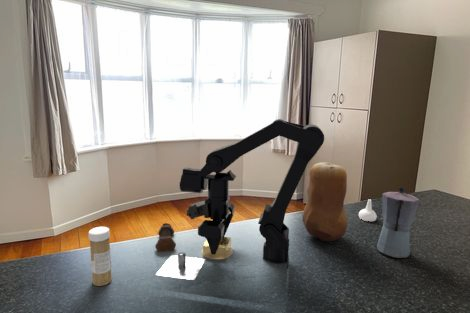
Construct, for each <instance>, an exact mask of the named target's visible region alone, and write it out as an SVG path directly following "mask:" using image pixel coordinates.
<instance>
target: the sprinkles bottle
mask: <svg viewBox="0 0 470 313" xmlns="http://www.w3.org/2000/svg"><path fill="white" fill-rule="evenodd" d="M110 234H111V233H110V228H109V227H107V226H97V227H93V228H91V229H90V230H89V231H88V240H89V246H90V263H91V264H90V266H91V268H90V269H91V275H92V285H93V286H95V287H101V286H106V285H108V284H110V283H111V282H112V280H113V275H112V256H111V247H110V246H111V245H110V244H111V243H110V238H111V235H110Z"/></svg>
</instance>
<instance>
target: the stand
mask: <svg viewBox="0 0 470 313" xmlns="http://www.w3.org/2000/svg"><path fill="white" fill-rule="evenodd" d="M219 245H221V243H220V244H219ZM233 253H234V250H233V248H232V247H231V248H230V250H229V253H228V255H227V257H226V258H220V257H211V256H204V257H205V258H207V259H211V260H224V259H227V258H229V257H231V256H232V255H233ZM201 254H202V255H203V248H202V249H201Z"/></svg>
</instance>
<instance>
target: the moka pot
mask: <svg viewBox="0 0 470 313" xmlns="http://www.w3.org/2000/svg"><path fill="white" fill-rule="evenodd" d="M405 190H406V188H405V187H403V186H399V187H398V191H387V192H383V193H382V194H381V195H382V197H381V198H382V200H381V202H382V205H381V206H382V208H381V210H382V219H383V221H382V222H383V225H382V229H381V231H380V235H379V237H378V238H379V239H378V241H377V245H376V250H377V251H378V252H380V253H382V254H384V255H385V256H388V257H392V258H397V259H403V258H404V259H406V258H408V257H410V253H411V252H410V246H411V245H410V242H411V241H410V240H411V239H410V236H411V235H410V230H411V225H412V224H413V223H414V220H415V217H416V216H415V215H416V213H417V210H418V207H419V204H420V199H419V198H417V197H416V196H414V195H411V194H408V193H406V192H404V191H405Z"/></svg>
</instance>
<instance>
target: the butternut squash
mask: <svg viewBox="0 0 470 313" xmlns="http://www.w3.org/2000/svg"><path fill="white" fill-rule="evenodd" d="M308 173H309V180H308V187H307V190H306V193H307V202H306V203H305V206H304V209H303V214H302V224H303V225H304V229H305V230H306V232H307V234H309V235H310V236H312V237H314V238H317V239H319V240H320V241H321V242H328V243H330V242H333V241H337V240H339V239H341V238H342V237H344V235H345V234H346V232H347V228H348V216H347V213H346V210H345V209H346V208H345V206H344V203H345V198H346V194H347V188H348V184H347V182H348V181H347V180H348V176H347V175H348V174H347V171H346V169H345V168H344V167H343V166H342V165H337V164H334V163H331V162H327V161H326V162H325V161H324V162H318V163H315V164H313V166H312V167H311V168H310V170H309V172H308Z"/></svg>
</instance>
